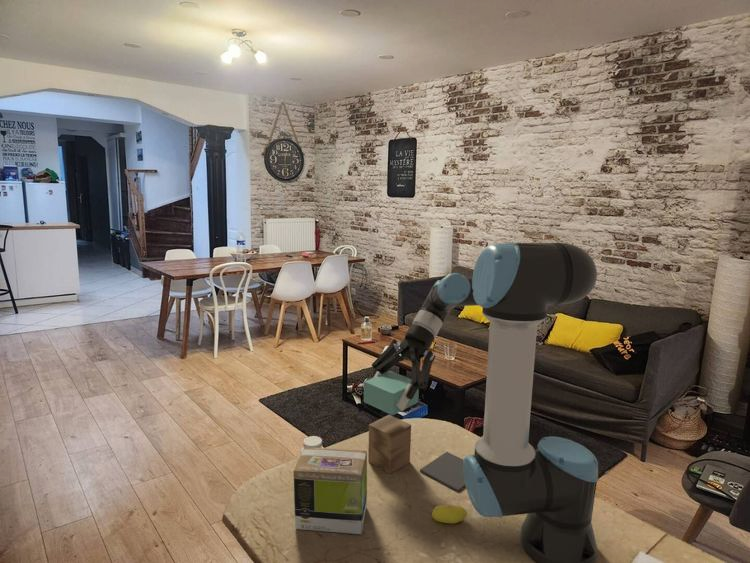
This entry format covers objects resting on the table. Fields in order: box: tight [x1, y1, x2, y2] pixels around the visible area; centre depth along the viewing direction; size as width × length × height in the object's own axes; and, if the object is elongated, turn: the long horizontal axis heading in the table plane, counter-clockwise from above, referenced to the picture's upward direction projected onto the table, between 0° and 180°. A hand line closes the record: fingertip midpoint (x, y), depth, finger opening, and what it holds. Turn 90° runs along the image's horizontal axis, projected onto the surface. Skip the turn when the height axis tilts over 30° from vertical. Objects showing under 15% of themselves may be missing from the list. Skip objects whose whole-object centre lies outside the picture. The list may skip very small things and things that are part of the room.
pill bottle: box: [300, 435, 324, 455], centre depth 124 cm, size 6×6×11 cm
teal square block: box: [363, 370, 420, 416], centre depth 129 cm, size 10×10×6 cm
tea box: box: [293, 447, 368, 535], centre depth 110 cm, size 15×10×15 cm
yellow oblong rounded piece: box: [431, 504, 468, 525], centre depth 111 cm, size 4×8×4 cm, turn 87°
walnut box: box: [367, 414, 412, 475], centre depth 133 cm, size 8×8×11 cm
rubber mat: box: [419, 451, 466, 493], centre depth 130 cm, size 12×12×1 cm
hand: (383, 401), depth 128 cm, fingers closed on teal square block, 10 cm apart
